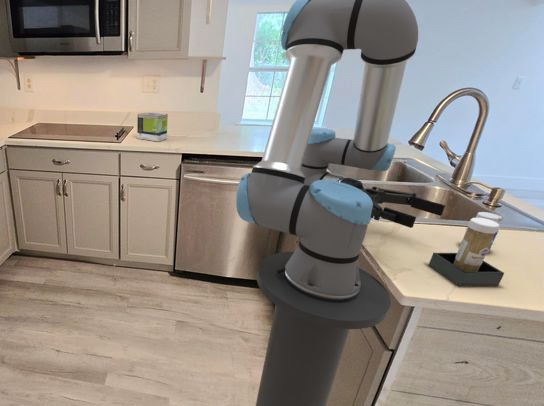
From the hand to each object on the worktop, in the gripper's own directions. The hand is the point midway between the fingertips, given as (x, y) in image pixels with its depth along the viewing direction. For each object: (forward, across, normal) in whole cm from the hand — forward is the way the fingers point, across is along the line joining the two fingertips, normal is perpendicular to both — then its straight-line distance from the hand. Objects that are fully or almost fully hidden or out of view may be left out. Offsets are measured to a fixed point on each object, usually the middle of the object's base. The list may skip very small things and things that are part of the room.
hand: (429, 216), depth 88 cm
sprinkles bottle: (+9, 0, -11) cm, 14 cm away
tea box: (-142, -17, -11) cm, 144 cm away
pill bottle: (+5, -18, -11) cm, 22 cm away
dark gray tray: (+9, 0, -11) cm, 15 cm away
